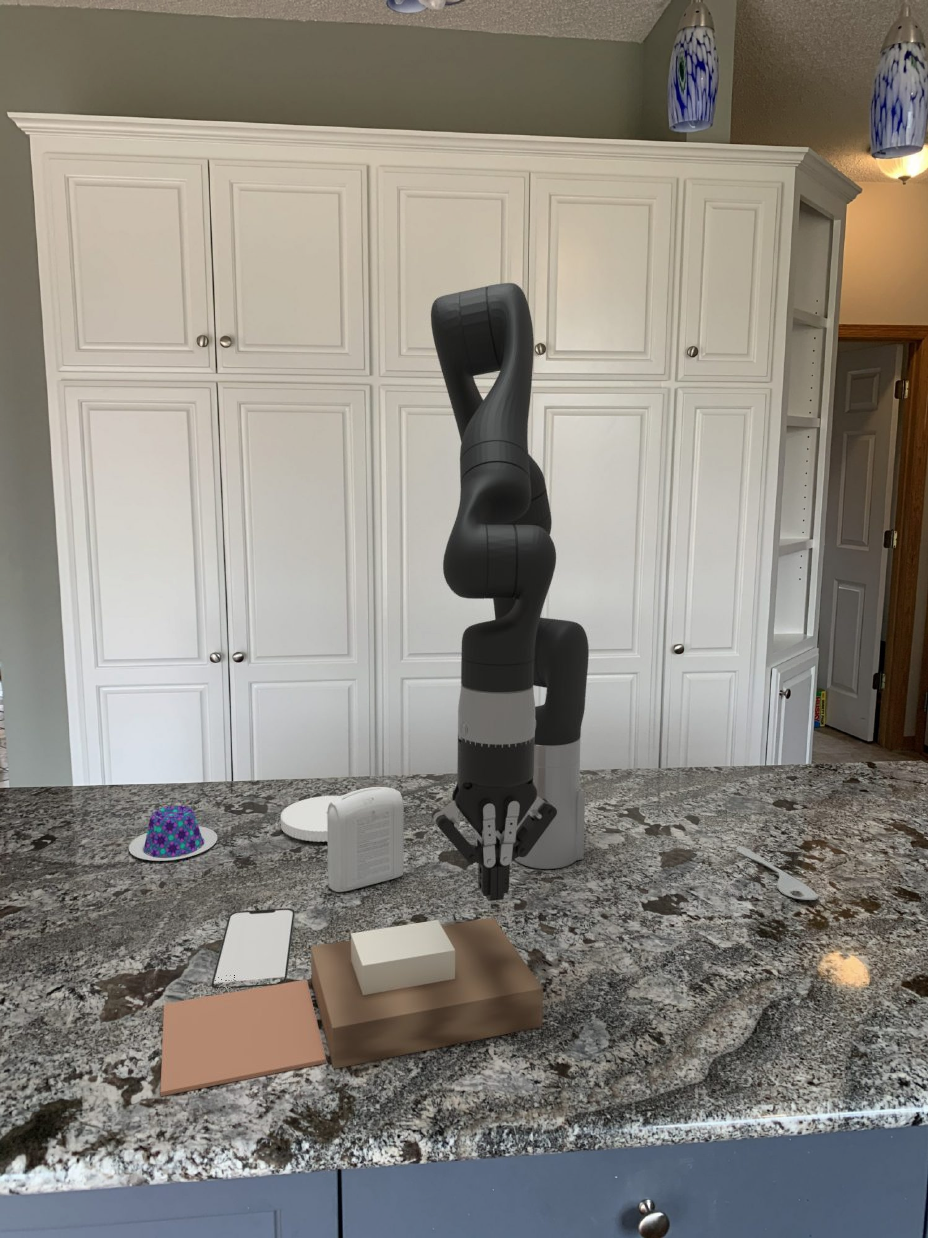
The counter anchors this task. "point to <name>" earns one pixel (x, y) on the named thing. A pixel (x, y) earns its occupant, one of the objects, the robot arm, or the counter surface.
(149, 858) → the purple patterned hat
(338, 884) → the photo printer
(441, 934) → the cream brick
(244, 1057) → the mat
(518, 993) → the deck
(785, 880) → the spoon
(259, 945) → the smartphone
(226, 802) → the counter surface
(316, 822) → the plastic lid
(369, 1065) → the counter surface
